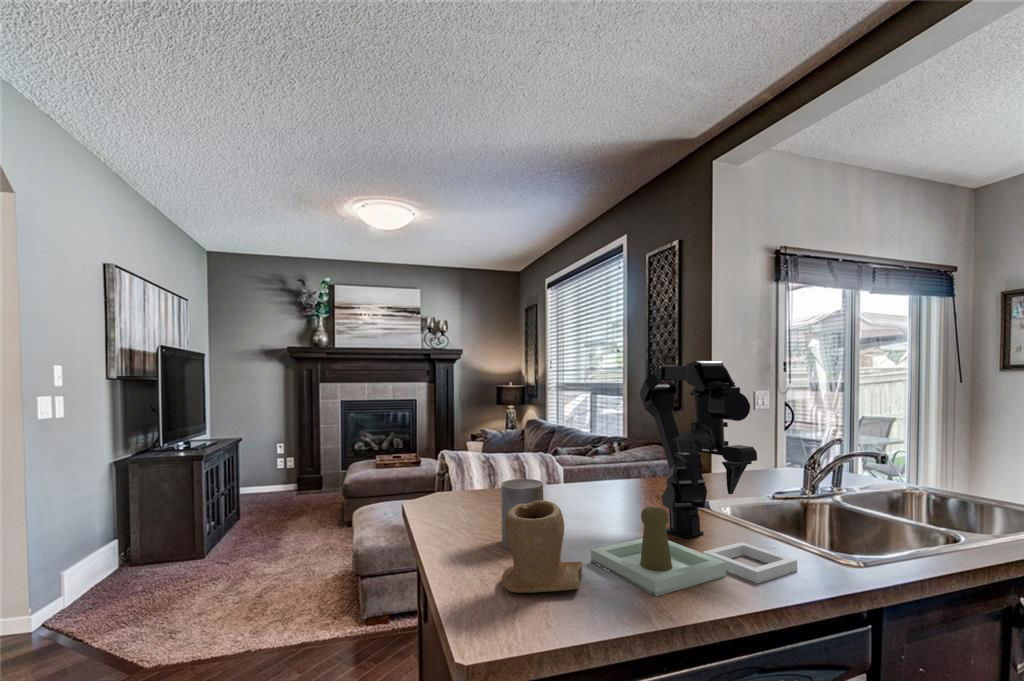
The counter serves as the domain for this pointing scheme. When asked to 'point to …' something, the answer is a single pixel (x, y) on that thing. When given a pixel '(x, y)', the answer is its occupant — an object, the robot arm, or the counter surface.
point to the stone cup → (538, 550)
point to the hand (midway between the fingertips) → (712, 489)
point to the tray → (684, 572)
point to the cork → (655, 540)
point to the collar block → (773, 569)
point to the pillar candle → (518, 497)
